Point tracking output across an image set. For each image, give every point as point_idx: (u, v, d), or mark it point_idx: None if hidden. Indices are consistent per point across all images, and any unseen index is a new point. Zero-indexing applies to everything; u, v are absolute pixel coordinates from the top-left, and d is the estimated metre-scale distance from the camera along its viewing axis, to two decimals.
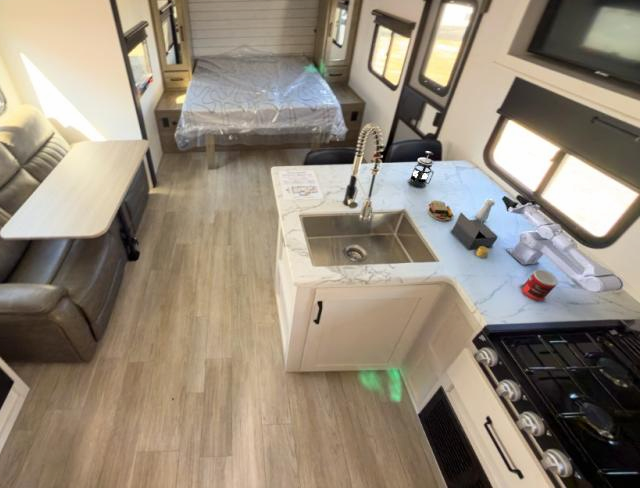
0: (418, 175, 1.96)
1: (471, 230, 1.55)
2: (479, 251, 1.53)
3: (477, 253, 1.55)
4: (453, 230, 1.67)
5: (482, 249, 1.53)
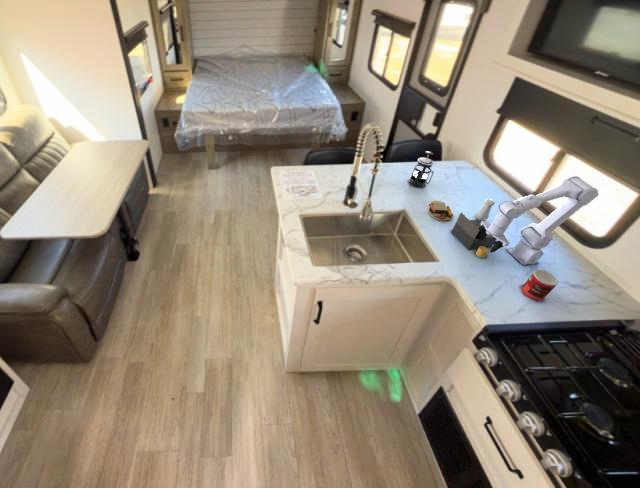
0: (418, 175, 1.96)
1: (471, 230, 1.55)
2: (479, 251, 1.53)
3: (477, 253, 1.55)
4: (453, 230, 1.67)
5: (482, 249, 1.53)
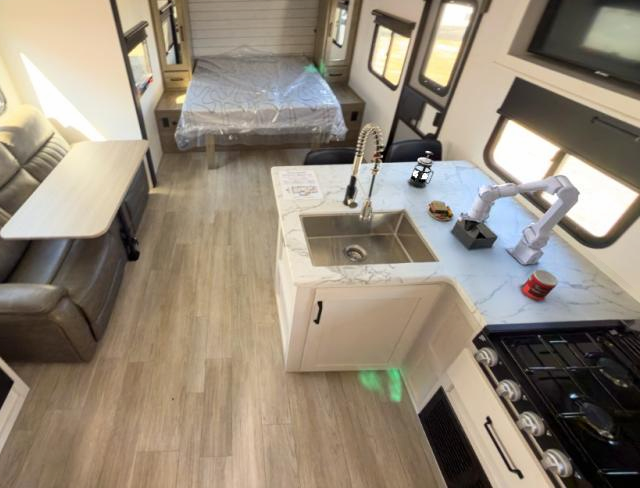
0: (418, 175, 1.96)
1: (472, 230, 1.55)
2: None
3: None
4: (453, 230, 1.67)
5: (469, 234, 1.60)
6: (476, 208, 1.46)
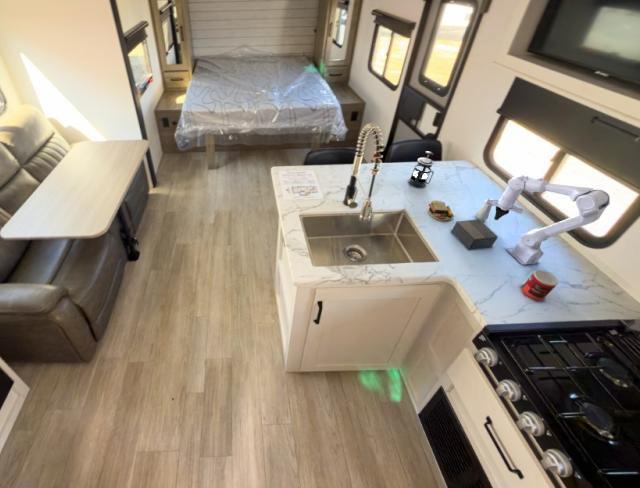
0: (418, 175, 1.96)
1: (475, 234, 1.56)
2: None
3: None
4: (453, 230, 1.67)
5: None
6: (503, 194, 1.53)
